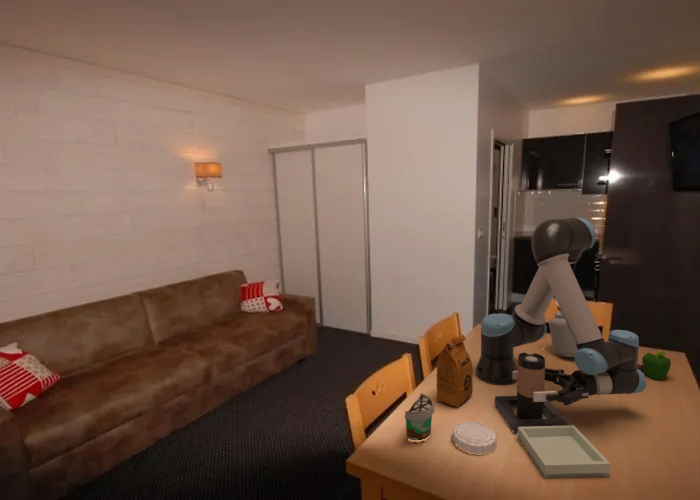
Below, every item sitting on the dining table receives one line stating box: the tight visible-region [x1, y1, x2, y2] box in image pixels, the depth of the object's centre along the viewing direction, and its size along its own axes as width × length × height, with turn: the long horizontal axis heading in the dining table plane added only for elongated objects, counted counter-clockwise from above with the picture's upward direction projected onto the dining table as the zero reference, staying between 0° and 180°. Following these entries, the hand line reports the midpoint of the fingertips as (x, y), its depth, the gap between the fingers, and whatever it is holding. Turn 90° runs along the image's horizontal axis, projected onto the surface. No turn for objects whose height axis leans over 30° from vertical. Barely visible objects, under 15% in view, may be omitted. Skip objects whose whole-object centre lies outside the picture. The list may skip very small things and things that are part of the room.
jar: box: [542, 311, 578, 358], centre depth 165 cm, size 19×15×25 cm
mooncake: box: [452, 420, 498, 455], centre depth 110 cm, size 12×12×4 cm
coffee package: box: [436, 334, 474, 407], centre depth 133 cm, size 10×12×22 cm
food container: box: [404, 393, 435, 440], centre depth 113 cm, size 12×6×10 cm, turn 148°
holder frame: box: [494, 395, 570, 434], centre depth 121 cm, size 16×16×3 cm
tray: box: [517, 424, 612, 479], centre depth 103 cm, size 16×16×4 cm
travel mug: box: [516, 352, 546, 419], centre depth 120 cm, size 8×8×20 cm
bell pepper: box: [641, 350, 672, 381], centre depth 144 cm, size 8×8×10 cm
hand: (522, 385), depth 120 cm, fingers open, 13 cm apart
